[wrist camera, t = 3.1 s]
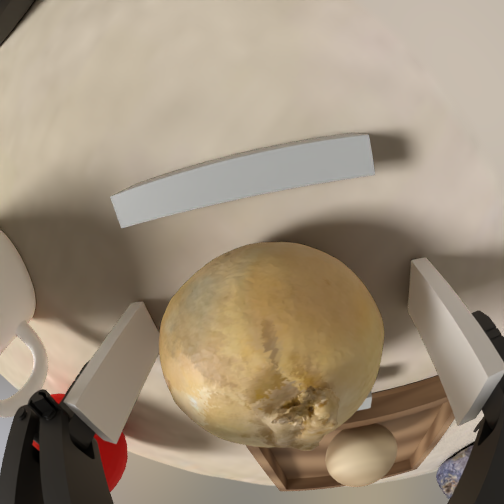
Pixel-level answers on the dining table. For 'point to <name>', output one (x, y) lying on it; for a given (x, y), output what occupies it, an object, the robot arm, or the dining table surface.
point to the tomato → (106, 454)
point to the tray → (381, 412)
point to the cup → (19, 322)
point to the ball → (361, 455)
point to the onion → (271, 345)
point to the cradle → (247, 179)
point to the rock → (452, 471)
